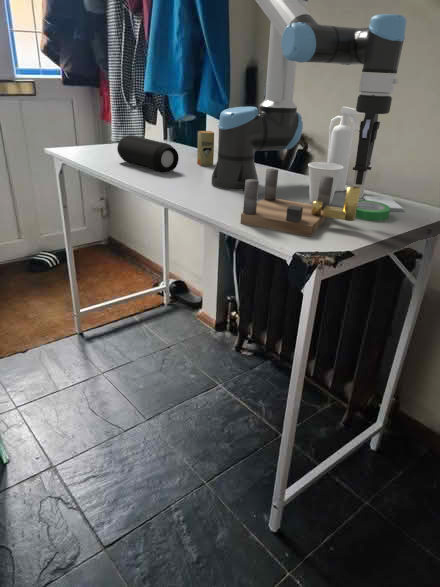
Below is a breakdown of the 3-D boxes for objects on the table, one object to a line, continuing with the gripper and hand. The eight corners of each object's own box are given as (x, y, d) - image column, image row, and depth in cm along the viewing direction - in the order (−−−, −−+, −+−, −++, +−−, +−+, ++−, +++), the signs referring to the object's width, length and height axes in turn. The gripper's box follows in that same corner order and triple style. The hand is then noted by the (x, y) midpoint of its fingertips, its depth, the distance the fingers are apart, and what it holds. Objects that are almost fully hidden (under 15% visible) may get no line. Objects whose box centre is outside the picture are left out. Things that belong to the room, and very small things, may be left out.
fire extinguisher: (324, 183, 153) (336, 104, 142) (353, 191, 145) (368, 108, 134) (311, 185, 149) (322, 105, 138) (340, 194, 141) (355, 109, 130)
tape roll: (365, 223, 117) (367, 213, 116) (338, 211, 126) (340, 201, 125) (397, 219, 121) (399, 209, 120) (369, 207, 130) (371, 198, 129)
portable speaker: (180, 172, 159) (180, 143, 155) (158, 176, 153) (157, 146, 148) (137, 160, 175) (136, 133, 170) (116, 163, 168) (114, 135, 164)
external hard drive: (374, 212, 128) (362, 200, 139) (402, 213, 128) (389, 201, 139) (375, 207, 127) (363, 195, 138) (404, 208, 127) (390, 196, 138)
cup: (313, 197, 137) (318, 160, 132) (343, 204, 131) (349, 166, 126) (296, 203, 130) (301, 164, 125) (327, 211, 125) (333, 171, 119)
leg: (309, 214, 112) (314, 183, 108) (313, 211, 114) (317, 180, 111) (353, 221, 108) (359, 190, 104) (355, 218, 110) (361, 187, 107)
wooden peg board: (265, 205, 126) (268, 168, 122) (328, 216, 120) (334, 177, 115) (240, 223, 112) (243, 181, 107) (310, 236, 105) (317, 192, 101)
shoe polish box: (197, 163, 173) (197, 131, 168) (209, 163, 175) (210, 130, 169) (200, 166, 169) (201, 132, 164) (213, 165, 171) (214, 132, 165)
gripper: (389, 96, 95) (368, 204, 106) (395, 94, 106) (376, 193, 117) (353, 94, 98) (336, 200, 109) (363, 92, 109) (347, 189, 119)
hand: (357, 196), depth 113 cm, fingers closed
